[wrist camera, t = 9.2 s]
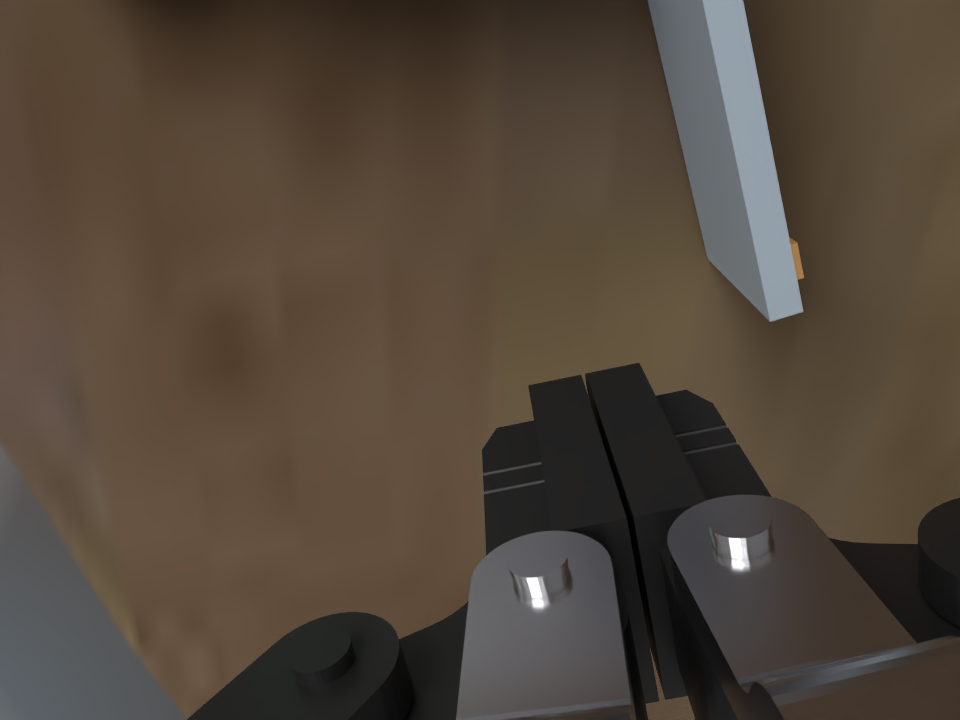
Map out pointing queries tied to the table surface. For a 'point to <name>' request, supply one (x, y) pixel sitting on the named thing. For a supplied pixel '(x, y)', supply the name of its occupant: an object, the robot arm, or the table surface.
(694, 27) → the side door
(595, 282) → the table surface
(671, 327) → the table surface
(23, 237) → the table surface
